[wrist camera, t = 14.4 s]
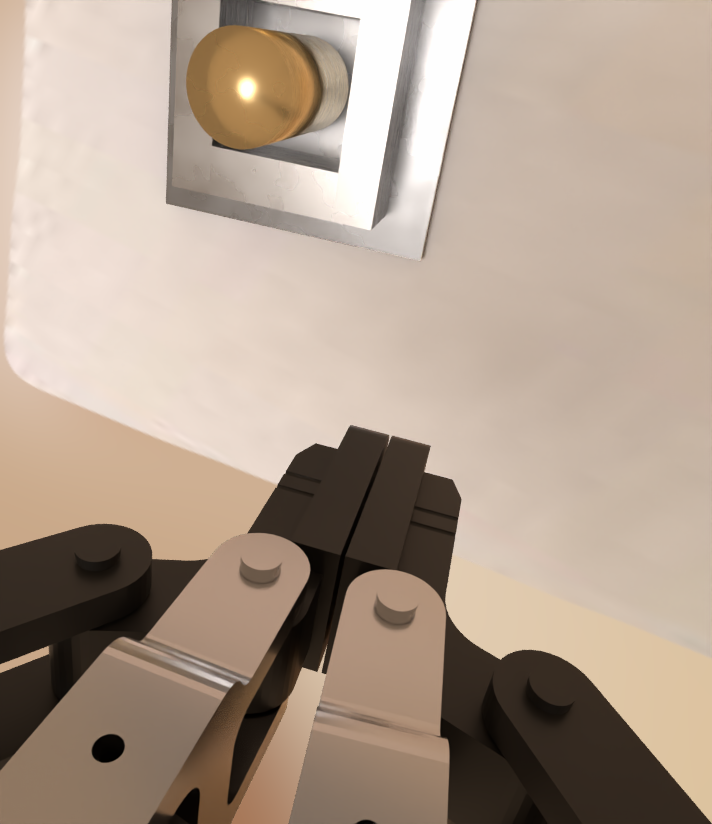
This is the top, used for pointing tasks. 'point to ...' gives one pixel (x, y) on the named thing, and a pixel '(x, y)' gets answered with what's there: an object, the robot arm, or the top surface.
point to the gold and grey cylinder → (264, 85)
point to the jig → (343, 139)
